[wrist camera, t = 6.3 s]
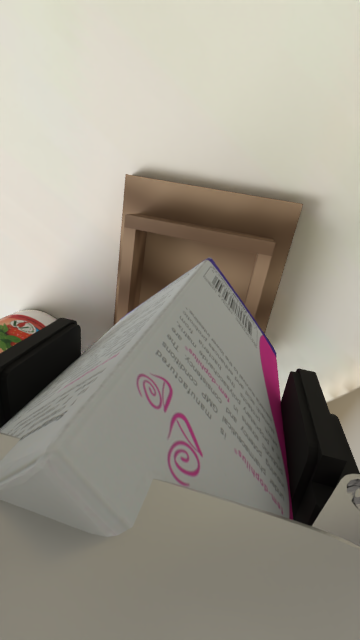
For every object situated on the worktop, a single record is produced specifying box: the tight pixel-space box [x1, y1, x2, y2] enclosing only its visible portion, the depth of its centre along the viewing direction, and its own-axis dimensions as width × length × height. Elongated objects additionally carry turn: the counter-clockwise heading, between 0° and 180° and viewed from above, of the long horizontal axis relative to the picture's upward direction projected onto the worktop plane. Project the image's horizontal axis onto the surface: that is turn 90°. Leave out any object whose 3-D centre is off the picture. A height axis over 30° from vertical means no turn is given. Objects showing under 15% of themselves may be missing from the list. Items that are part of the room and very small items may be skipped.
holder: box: [114, 174, 303, 333], centre depth 27 cm, size 18×15×4 cm
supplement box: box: [0, 257, 293, 537], centre depth 10 cm, size 6×6×12 cm
